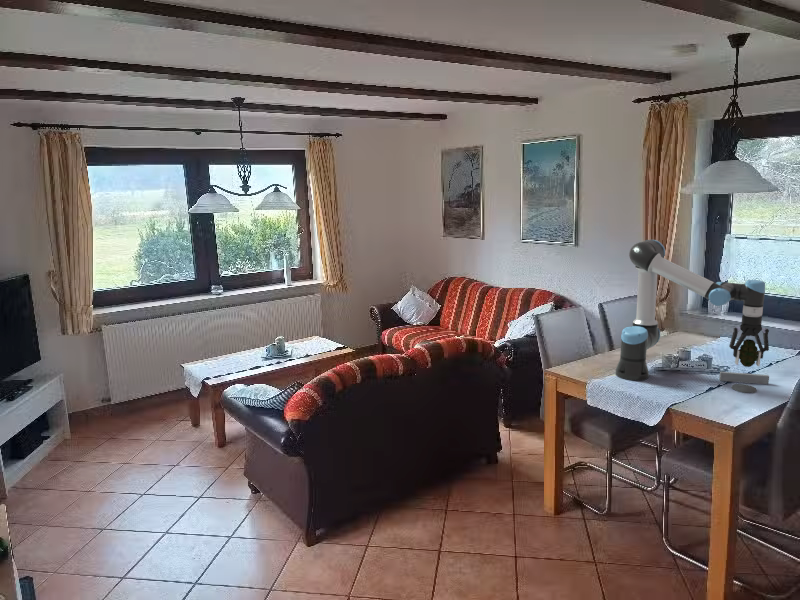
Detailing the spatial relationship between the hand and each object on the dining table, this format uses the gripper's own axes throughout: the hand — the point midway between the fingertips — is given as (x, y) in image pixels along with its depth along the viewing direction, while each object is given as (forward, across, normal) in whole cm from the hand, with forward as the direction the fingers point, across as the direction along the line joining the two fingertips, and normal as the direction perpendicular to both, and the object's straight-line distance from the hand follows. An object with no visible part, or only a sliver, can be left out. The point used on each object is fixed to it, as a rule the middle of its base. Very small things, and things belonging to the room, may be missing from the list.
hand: (747, 364), depth 261 cm
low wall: (+12, +2, +10) cm, 16 cm away
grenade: (+1, 0, 0) cm, 1 cm away
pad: (+12, 0, 0) cm, 12 cm away
